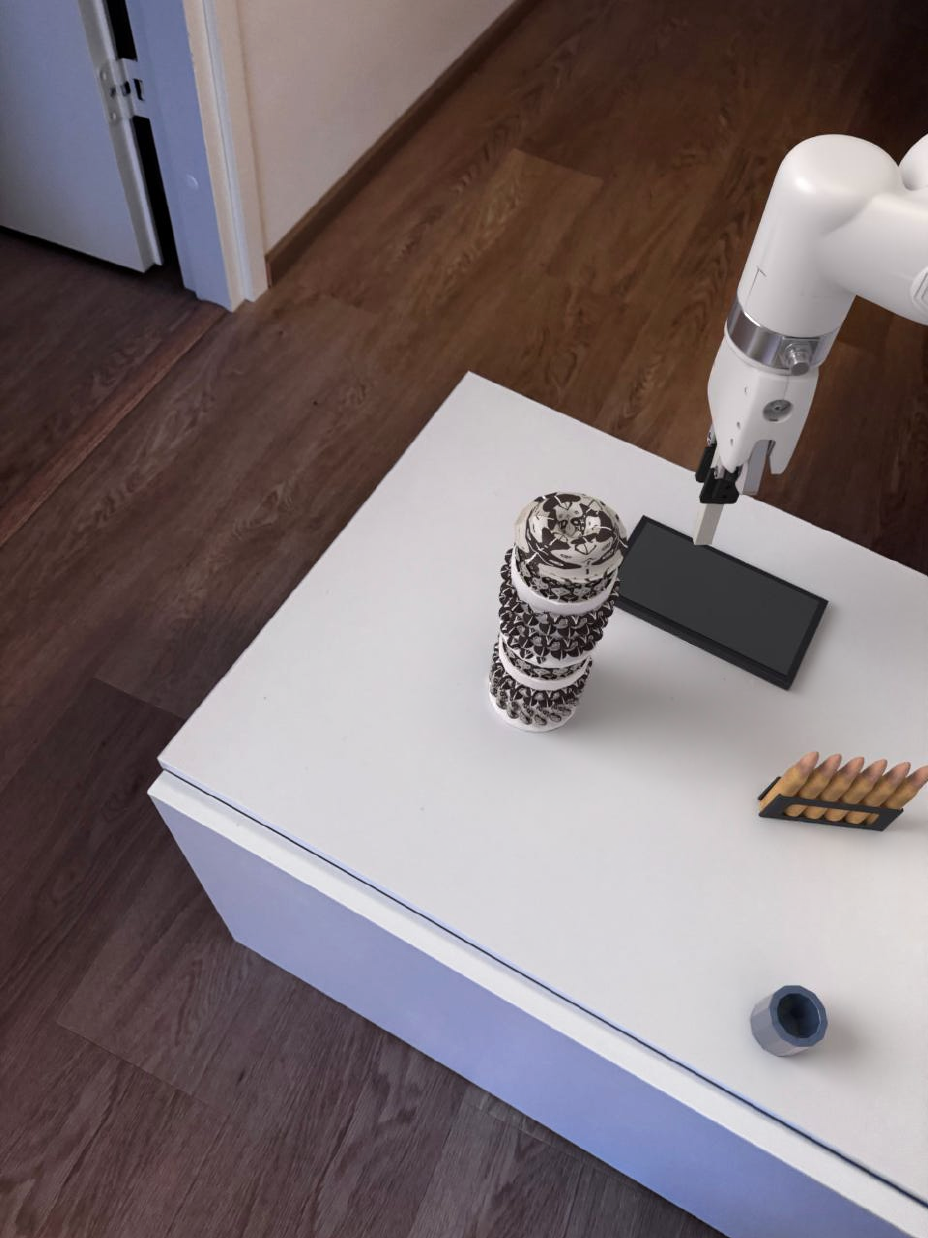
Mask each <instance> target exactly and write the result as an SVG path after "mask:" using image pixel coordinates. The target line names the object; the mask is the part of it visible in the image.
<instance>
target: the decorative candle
mask: <svg viewBox="0 0 928 1238" xmlns="http://www.w3.org/2000/svg"><path fill="white" fill-rule="evenodd" d="M627 540H628V537H627V529H626V527H625V525H624V523H623V522H622V520H621V519H620V517H619V514H618V513H617V512H616V511H615V510H614V509H612V508H611V507H609V506H608V505H607V504H606V503H604V502H603V501H602V500H601V499H598V498H595V497H593V496H591V495H587V494H585V493H582V492H576V491H575V492H574V491H556V492H551V493H548V494H544V495H541V496H538V497H537V498H535V499H534V500H532V501H531V502H530V503H528V504H527V505H525V506H524V507H523V508H522V510H521V512H520V513H519V515H518V517H517V519H516V521H515V523H514V543H513V547H512V548H509V549H508V550H507V551H505V554H504V561H505V564H503V565H502V566H501V567H500V574H499V575H500V577H501V579H502V581H503V582H501V584H500V586H499V594H498V602H499V603H500V605H501V606H500V608H498V613H497V614H498V618H499V632H498V635H497V642H495V643H494V645H493V654H492V657H491V658H492V661H491V663H490V667H489V668H490V669H489V670H490V672H489V674H488V678H489V685H488V686H489V688H488V689H489V692H488V696H489V699H490V702H491V704H492V706H493V708H494V711H495V713H496V714H497V715H499V717H501V718H502V719H503V720H504V721H505V722H506V723H507V724H508V725H510V726H513V727H515V728H517V729H520V730H522V731H525V732H533V733H534V732H535V733H546V732H549V731H551V730H555V729H558V728H560V727H562V726H563V725H565V724H566V723H567V722H568V721H569V720H570V719H571V718H573V717H574V715H575V713H576V710H577V708H578V706H579V705H580V703H581V702H580V701H581V698H582V696H583V694H584V691H585V686H586V685H587V682H588V681H587V679H588V677H589V676H590V668H591V667H592V666H593V659H592V657H591V656H592V654H593V652H594V651H595V650H596V648H597V645H598V643H599V642H600V641H601V640H602V639H603V637H604V629H605V628H607V626H608V625H609V618H610V617H611V616H613V614H614V612H615V611H614V610H615V607H614V606H613V605H612V604H614V603H616V602H617V600H618V598H619V593H618V591H617V590H618V589H619V587H620V580H619V578H618V577H617V573H618V568H617V566H619V565H620V564H621V561H622V559H623V557H624V555H625V552H626V550H627V548H628V547H627ZM606 600H607V602H606Z"/></svg>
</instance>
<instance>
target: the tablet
mask: <svg viewBox="0 0 928 1238" xmlns="http://www.w3.org/2000/svg"><path fill="white" fill-rule="evenodd" d="M627 547H628V548H627V550H626V552H625V555H624V557H623V559H622V561H621V564H620V565H619V566H617V568H618V573H617V577H618V578H619V580H620V587H619V589H618V590H617V591H618V593H619V598H618V600H617V602H616V603H614V604H612V605H613V607H614V608H617V609H620V610H622V611H623V612H626V613H628V614H630V615H632V616H634V617H636V618H638V619H640V620H641V621H644V622H646V623H648V624H650V625H652V626H654V627H656V628H658V629H660V630H661V631H664V632H666V633H668V634H670V635H672V636H675V637H676V638H679V639H681V640H683V641H685V642H686V643H689V644H690V645H692V646H695V647H697V648H700V649H701V650H702V651H705V652H707V653H709V654H711V655H713V656H715V657H717V658H719V659H721V660H724V661H725V662H728V663H729V664H731V665H733V666H735V667H737V668H740V669H742V670H744V671H746V672H748V673H750V674H752V675H754V676H756V677H758V678H760V679H762V680H764V681H766V682H768V683H770V684H772V685H774V686H776V687H778V688H781V689H783V690H785V691H787V692H788V691H789V690H790V688H791V687H792V686H793V683H794V681H795V679H796V676H797V675H798V672H799V670H800V667H801V665H802V664H803V661H804V658H805V656H806V654H807V653H808V652H807V651H808V649H809V648H810V645H811V643H812V641H813V638H814V636H815V634H816V632H817V629H818V627H819V625H820V622H821V620H822V618H823V616H824V613H825V611H826V609H827V607H828V603H829V602H830V601H829V600H828V599H826V598H824V597H822V596H819V595H817V594H815V593H813V592H811V591H809V590H807V589H804V588H802V587H800V586H798V585H796V584H794V583H791V582H790V581H788V580H785V579H783V578H780V577H779V576H776V575H774V574H772V573H770V572H768V571H765V570H764V569H761V568H759V567H757V566H755V565H753V564H750V563H748V562H746V561H745V560H742V559H739V558H738V557H735V556H734V555H731V554H729V553H727V552H725V551H722V550H720V549H719V548H717V547H714V546H711V545H703V546H702V547H697V546H696V545H694V540H693V536H690V535H687V534H685V533H683V532H681V531H679V530H677V529H675V528H672V527H670V526H668V525H666V524H664V523H662V522H660V521H657V520H655V519H654V518H651V517H649V516H647V515H645V514H642V516H641V517H640V519H639V521H638V522H637V524H636V526H635V527H634V528H633V530H632V532H631V534H630V535H629V537H628V538H627ZM606 602H607V600H606Z"/></svg>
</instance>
